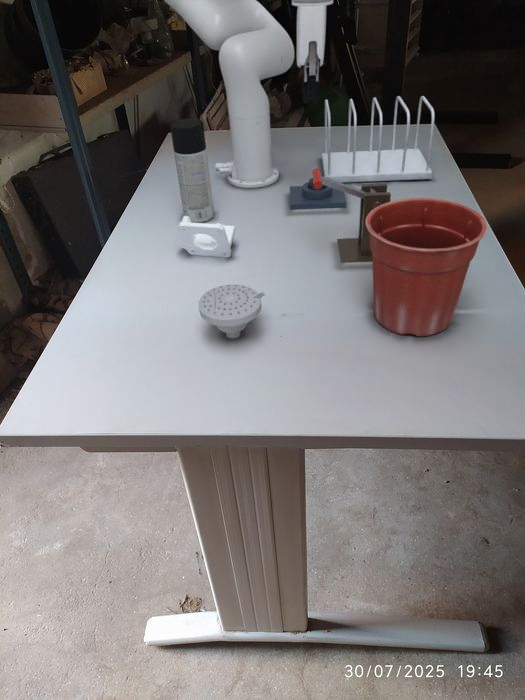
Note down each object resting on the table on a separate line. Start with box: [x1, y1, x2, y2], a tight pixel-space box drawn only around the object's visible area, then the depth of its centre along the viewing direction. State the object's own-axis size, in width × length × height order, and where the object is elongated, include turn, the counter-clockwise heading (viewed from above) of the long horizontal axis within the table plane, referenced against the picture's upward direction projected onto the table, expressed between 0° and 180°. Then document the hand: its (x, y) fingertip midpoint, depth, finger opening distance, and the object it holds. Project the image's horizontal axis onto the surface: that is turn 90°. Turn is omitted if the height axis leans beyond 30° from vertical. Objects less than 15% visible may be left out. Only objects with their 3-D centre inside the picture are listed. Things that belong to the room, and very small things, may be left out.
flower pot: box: [366, 197, 488, 337], centre depth 81 cm, size 16×16×16 cm
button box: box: [289, 181, 347, 211], centre depth 120 cm, size 12×10×4 cm
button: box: [308, 177, 325, 190], centre depth 118 cm, size 4×4×2 cm
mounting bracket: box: [174, 215, 236, 259], centre depth 103 cm, size 12×6×11 cm, turn 76°
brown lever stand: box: [336, 182, 392, 264], centre depth 98 cm, size 12×9×13 cm
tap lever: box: [311, 167, 381, 199], centre depth 94 cm, size 13×6×2 cm, turn 88°
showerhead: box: [197, 284, 266, 339], centre depth 82 cm, size 9×7×10 cm
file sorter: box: [321, 95, 435, 184], centre depth 130 cm, size 25×17×16 cm
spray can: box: [169, 118, 215, 223], centre depth 112 cm, size 7×7×20 cm
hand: (310, 102), depth 109 cm, fingers closed
